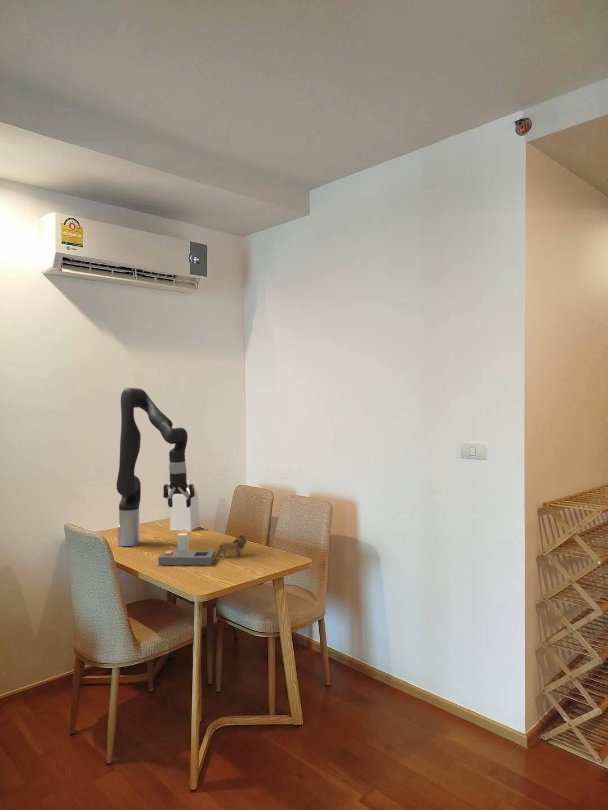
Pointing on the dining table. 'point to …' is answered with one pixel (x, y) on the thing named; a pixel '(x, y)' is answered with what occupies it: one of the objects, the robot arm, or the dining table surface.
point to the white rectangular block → (183, 541)
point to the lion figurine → (232, 546)
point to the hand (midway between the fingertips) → (179, 507)
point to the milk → (184, 512)
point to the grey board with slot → (186, 558)
